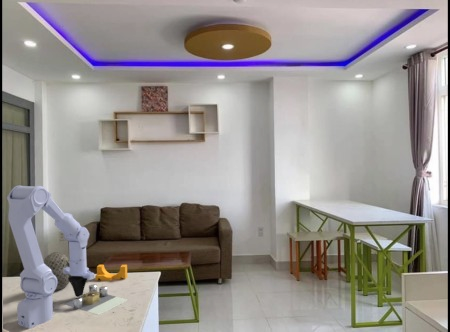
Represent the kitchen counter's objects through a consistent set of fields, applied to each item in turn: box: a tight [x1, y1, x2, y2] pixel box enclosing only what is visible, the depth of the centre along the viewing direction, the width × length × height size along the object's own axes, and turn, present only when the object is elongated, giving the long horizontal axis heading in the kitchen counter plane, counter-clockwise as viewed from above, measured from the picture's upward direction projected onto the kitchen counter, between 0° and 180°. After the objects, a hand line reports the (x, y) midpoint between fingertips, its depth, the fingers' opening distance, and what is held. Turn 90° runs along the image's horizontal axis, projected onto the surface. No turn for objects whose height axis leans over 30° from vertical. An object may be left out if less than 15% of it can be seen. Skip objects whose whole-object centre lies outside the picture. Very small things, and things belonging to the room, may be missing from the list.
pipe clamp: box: [94, 264, 128, 282], centre depth 144 cm, size 12×4×6 cm, turn 87°
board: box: [64, 291, 128, 316], centre depth 122 cm, size 13×18×1 cm
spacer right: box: [98, 285, 108, 297], centre depth 127 cm, size 3×3×3 cm
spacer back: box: [88, 283, 98, 292], centre depth 129 cm, size 3×3×3 cm
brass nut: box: [82, 291, 99, 305], centre depth 122 cm, size 6×5×3 cm
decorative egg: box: [43, 251, 71, 291], centre depth 135 cm, size 12×12×15 cm
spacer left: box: [72, 296, 83, 310], centre depth 117 cm, size 3×3×3 cm
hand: (79, 295), depth 125 cm, fingers closed
